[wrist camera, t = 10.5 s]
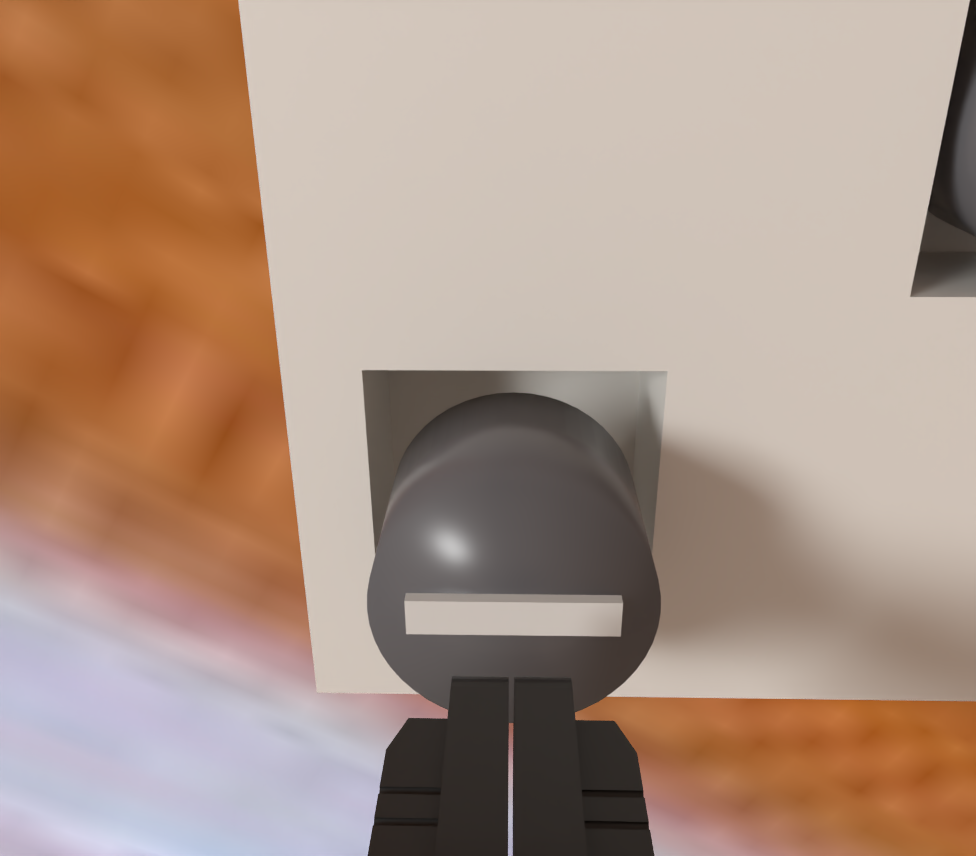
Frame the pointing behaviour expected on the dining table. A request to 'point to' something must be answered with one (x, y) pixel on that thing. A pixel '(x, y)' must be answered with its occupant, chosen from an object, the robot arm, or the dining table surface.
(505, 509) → the knob
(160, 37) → the dining table surface
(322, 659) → the knob mount
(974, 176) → the knob
